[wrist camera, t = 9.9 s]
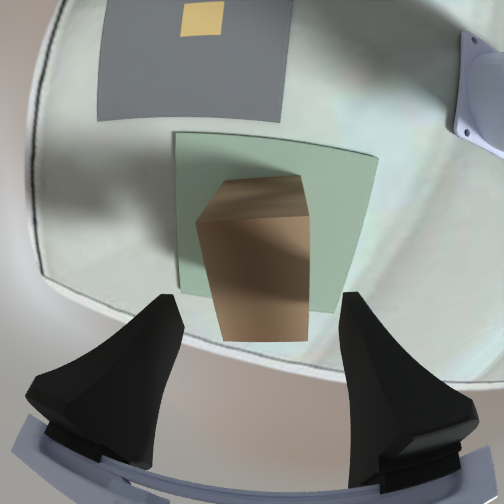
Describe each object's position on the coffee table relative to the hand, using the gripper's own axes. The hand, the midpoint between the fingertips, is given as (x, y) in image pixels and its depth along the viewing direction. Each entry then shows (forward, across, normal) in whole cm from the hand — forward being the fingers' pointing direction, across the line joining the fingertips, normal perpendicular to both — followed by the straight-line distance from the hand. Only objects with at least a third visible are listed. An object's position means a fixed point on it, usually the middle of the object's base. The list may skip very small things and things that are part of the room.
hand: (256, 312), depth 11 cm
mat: (+8, 0, 0) cm, 8 cm away
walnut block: (+7, 0, 0) cm, 7 cm away
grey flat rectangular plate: (+8, +3, -15) cm, 17 cm away
